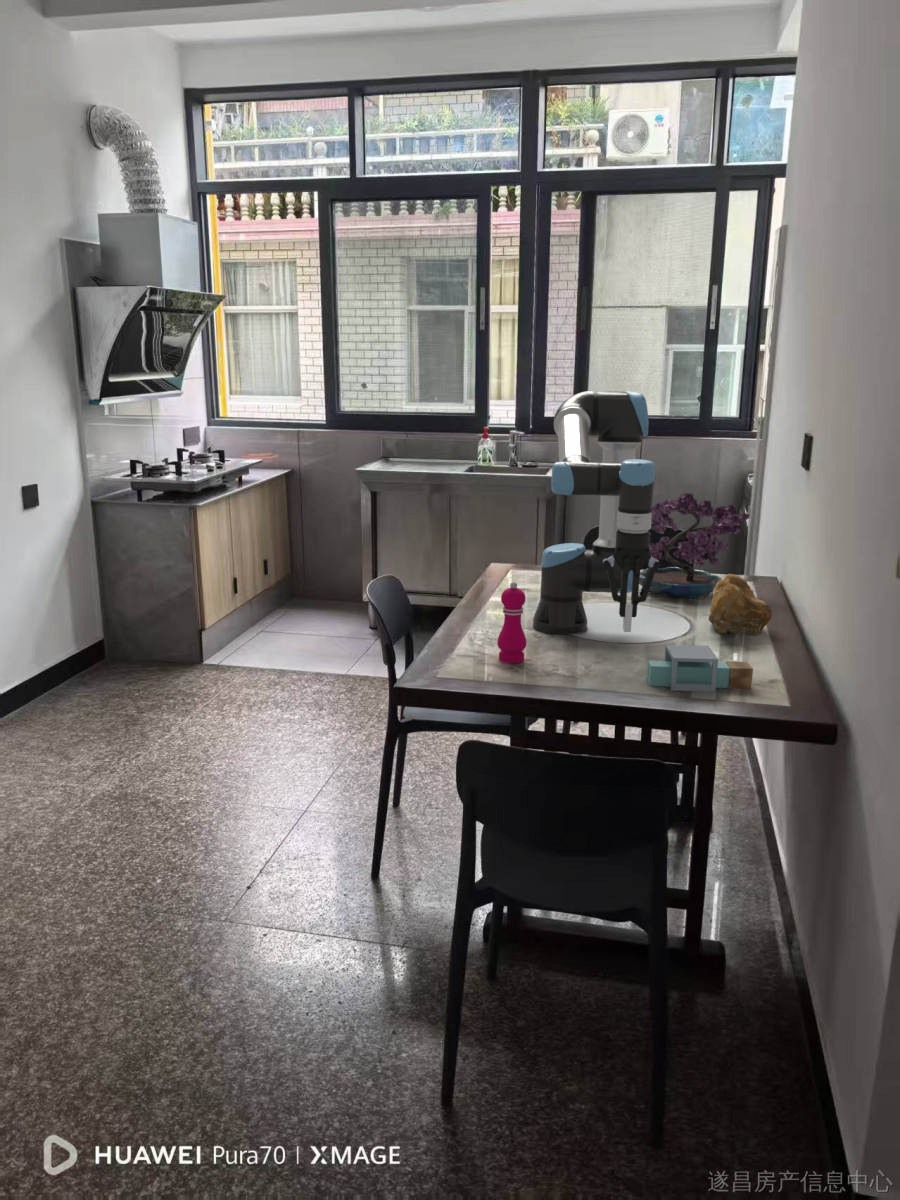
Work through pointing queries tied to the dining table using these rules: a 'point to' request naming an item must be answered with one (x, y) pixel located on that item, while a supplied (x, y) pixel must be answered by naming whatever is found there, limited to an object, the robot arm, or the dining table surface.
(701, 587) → the bonsai tree
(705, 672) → the teal rod
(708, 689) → the tunnel
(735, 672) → the walnut block
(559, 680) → the dining table surface
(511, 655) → the pepper mill
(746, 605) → the rough brown rock
